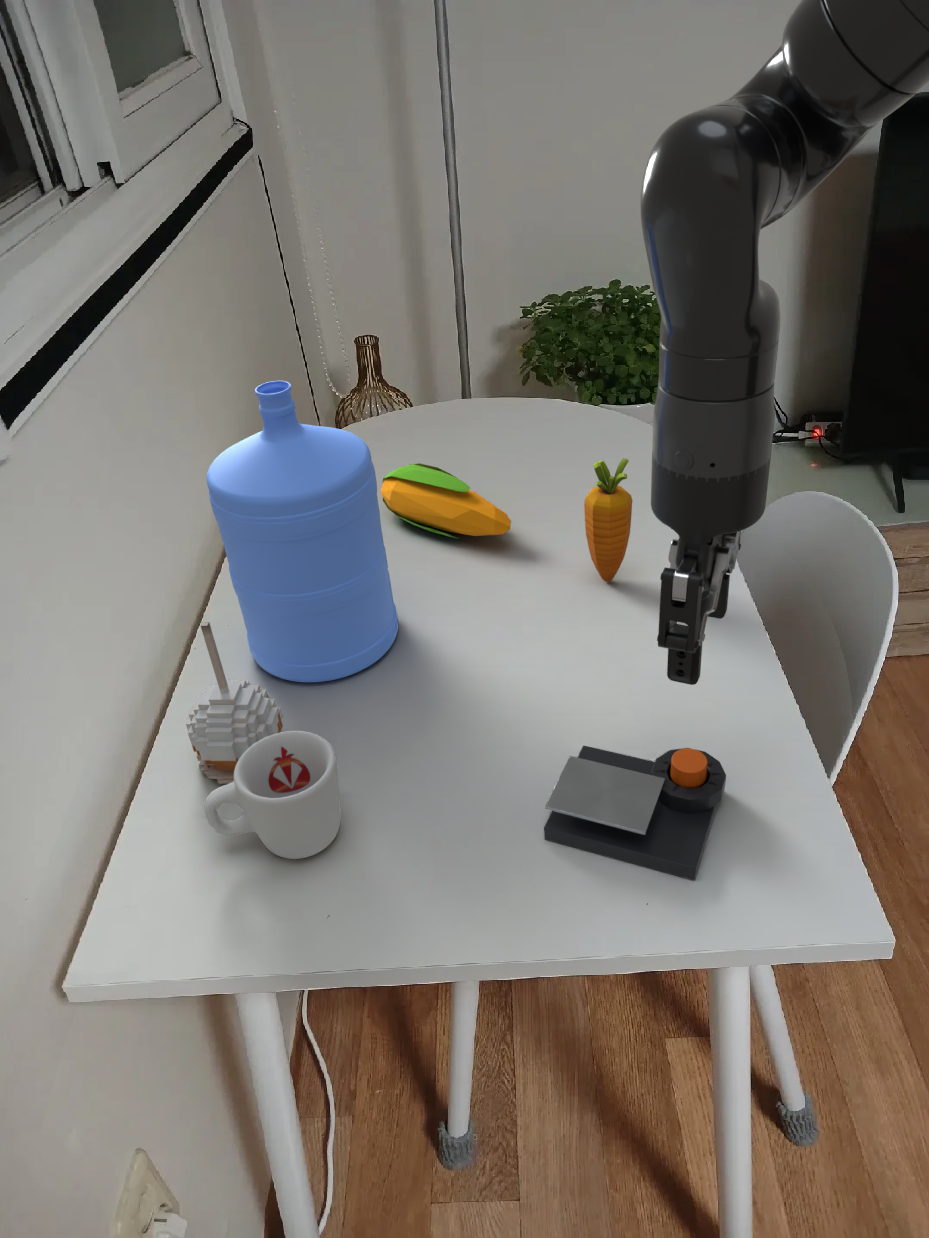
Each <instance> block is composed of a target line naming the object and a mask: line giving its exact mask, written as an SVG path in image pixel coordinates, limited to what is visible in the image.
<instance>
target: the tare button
mask: <svg viewBox="0 0 929 1238" xmlns="http://www.w3.org/2000/svg"><path fill="white" fill-rule="evenodd" d="M685 748H686V749H681V748H680V749H681V750H678V751H676V752H675V753H674V754H673V756H672V758H671V774H670V775H671V778H672V780H673V781H674V782H675V783H676V784H677V785H679V786H681V787H685V788H696V787H699V786H701V785H702V784H703V783H704V782H705V780H706V773H707V758H706V757H705V755H704V754H703V753H701V752H700V751H701V750H700V751H698V750H699V749H696V750H695V748H691V749H689V748H690V747H685Z"/></svg>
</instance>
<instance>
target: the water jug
mask: <svg viewBox="0 0 929 1238" xmlns="http://www.w3.org/2000/svg"><path fill="white" fill-rule="evenodd" d="M291 391H292V385H291V383H290V382H288V381H286V380H270V381H267V382H264V383H262V384H260V385H258V386H256V387H255V389H254V392H255V395H256V397H258V401H259V405H258V409H259V410H258V411H259V414H260V416H261V420H262V424H263V428H262V430H261V431H259V432H256V433H254V434H253V435H251V436H249V437H248V436H247V438H243V440H240V441H238V442H236V443H234V444H233V445H231V446H229V447H227V448H226V449H225V450H224V451H222V452H221V453H220V454H219V455H218V456H216V457H215V459H213V461H212V462H211V464H210V465H209V467H208V470H207V473H206V484H207V488H208V496H209V502H210V506H211V509H212V514H213V516H214V519H215V521H216V523H217V526H218V529H219V532H220V536H221V541H222V544H223V547H224V553H225V556H226V560H227V563H228V571H229V577H230V580H231V583H232V588H233V590H234V593H235V595H236V597H237V600H238V604H239V608H240V612H241V615H242V618H243V621H244V626H245V629H246V630H245V631H246V639H247V643H248V647H249V650H250V654H251V656H252V658H253V660H254V662H255V663H256V664H257V665H258V666H259V667H260V668H261V669H263V670H264V671H265V672H267V673H268V674H270V675H272V676H274V677H277V678H280V679H282V680H287V681H290V682H297V683H322V682H328V681H335V680H339V679H342V678H346V677H349V676H352V675H354V674H356V673H357V674H358V673H359V672H361V671H363V670H365V669H367V668H369V667H370V666H372V665H373V664H374V663H377V662H378V661H379V660H380V659H381V658H383V656H384V655H385V654H387V652H388V651H389V650H390V648H391V647H392V645H393V644H394V642H395V640H396V637H397V634H398V630H399V619H398V612H397V607H396V603H395V601H394V596H393V589H392V588H393V587H392V583H391V577H390V576H391V575H390V572H389V563H388V558H387V552H386V550H387V549H386V546H385V542H384V537H383V529H382V522H381V513H380V505H379V504H380V503H379V499H378V482H377V476H376V475H377V474H376V470H375V465H374V463H373V460H372V453H371V450H370V447H369V445H367V443H366V442H365V441H364V440H363V439H362V438H361V437H360V436H358V435H356V434H354V433H353V432H350V431H348V430H344V429H341V428H337V427H331V426H321V425H314V424H312V425H311V424H305V423H300V422H299V421H298V418H297V414H296V405H295V403H296V402H295V401H294V400H293V398H292V394H291Z"/></svg>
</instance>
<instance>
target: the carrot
mask: <svg viewBox="0 0 929 1238" xmlns="http://www.w3.org/2000/svg"><path fill="white" fill-rule="evenodd" d="M629 462H630V461H629V459H628V458H625V457H623V458H622V459H621V460H620V462H619V463H618V466H617V468H616V470H615V473H614V476H613V475H611V472H610V469H609V468H608V466H607V464H606V461H604V460H598V461H595V462H594V463H593V465H592V467H593V469H594V472H595V474H596V475H595V476H596V477H597V481H595V485H596V486H595V487H592V488H591V489H590V490H589V492H588V494H587V495H586V497H585V498H584V504H583V507H584V508H583V509H584V527H585V538H586V542H587V548H588V550H589V554H590V558H591V561H592V563H593V566H594V567H595V570H596V571H597V574H598V575H599V576H600V578H601V579H602V580H603V581H604V582H605V583H607V584H609V583H611V582H612V581H613V580H614V578H615V576H616V575H617V573H618V572H619V569H620V568H621V566H622V563H623V561H624V559H625V557H626V552H627V548H628V544H629V540H630V534H631V528H632V527H631V526H632V515H633V513H632V512H633V498H632V495H631V493H630V492H628V491H627V490H626V489H625V488H624V487H622V486H621V485H619V484H620V483H621V482H622V481H623V480H627V479H628V474H627V473H625V472H624V470H625V468H626V466H627V464H628V463H629Z"/></svg>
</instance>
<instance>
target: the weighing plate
mask: <svg viewBox="0 0 929 1238" xmlns="http://www.w3.org/2000/svg"><path fill="white" fill-rule="evenodd" d="M577 757H578V756H577ZM577 757H576V756H572V755H569V756H568V758H567V761H566V763H565V765H564V767H563V769H562V771H561V773H560V775H559V777H558V778H557V781H556V784H555V785H554V787H553V789H552V791H551V793H550V795H549V798H548V799H547V802H546V803H545V805H544V809H545V810H548V811H551V812H552V811H555V812H559V813H563V814H567V815H570V816H574V817H578V818H582V819H586V820H589V821H593V822H597V823H601V824H605V825H608V826H612V827H616V828H620V829H624V830H627V831H631V832H635V833H639V834H643V835H646V832H647V829H648V826H649V824H650V821H651V818H652V816H653V813H654V810H655V807H656V805H657V802H658V799H659V797H660V794H661V791H662V788H663V786H664V783H665V778H661V777H657V776H653V775H648V774H644V773H640V772H636V771H632V770H627V769H623V768H619V767H615V766H611V765H606V764H602V763H598V762H594V761H590V760H585V759H581V758H577Z"/></svg>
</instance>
